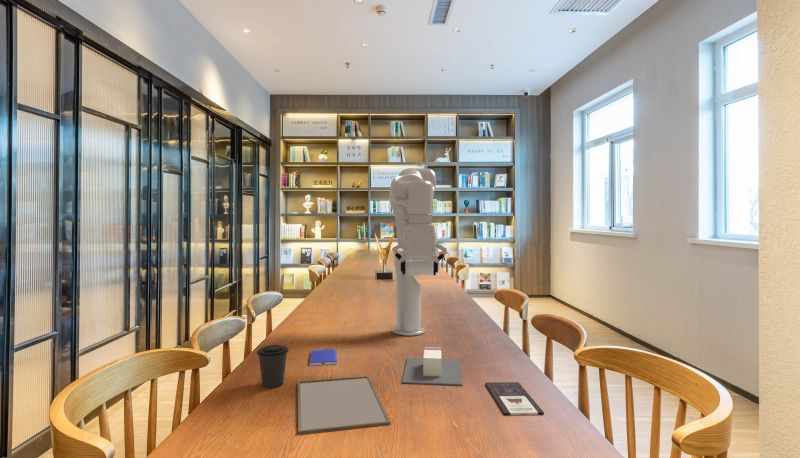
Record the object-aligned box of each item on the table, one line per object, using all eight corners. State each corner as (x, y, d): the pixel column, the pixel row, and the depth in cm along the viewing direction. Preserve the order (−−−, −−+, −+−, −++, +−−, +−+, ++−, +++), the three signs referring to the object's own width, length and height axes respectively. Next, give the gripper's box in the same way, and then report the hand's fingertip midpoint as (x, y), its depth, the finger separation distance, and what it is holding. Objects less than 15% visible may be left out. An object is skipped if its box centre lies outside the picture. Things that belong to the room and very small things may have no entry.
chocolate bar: (518, 382, 115) (543, 412, 97) (518, 385, 115) (543, 416, 97) (485, 382, 115) (504, 412, 97) (485, 386, 115) (504, 417, 97)
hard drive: (311, 349, 141) (309, 362, 129) (336, 348, 143) (337, 361, 130) (311, 354, 141) (309, 367, 129) (336, 353, 143) (337, 366, 131)
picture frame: (390, 426, 92) (368, 379, 120) (390, 421, 92) (368, 375, 120) (298, 436, 88) (297, 385, 115) (298, 431, 88) (297, 381, 115)
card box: (441, 376, 119) (441, 358, 119) (423, 376, 120) (423, 357, 120) (441, 364, 129) (441, 347, 129) (424, 363, 130) (424, 347, 130)
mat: (407, 359, 135) (407, 358, 135) (458, 360, 134) (458, 359, 134) (401, 383, 115) (401, 381, 115) (462, 385, 114) (462, 384, 114)
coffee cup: (261, 392, 109) (261, 353, 109) (253, 382, 116) (253, 345, 116) (292, 386, 113) (292, 348, 113) (283, 376, 120) (283, 340, 120)
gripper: (391, 220, 132) (390, 275, 133) (447, 221, 131) (447, 277, 132) (393, 219, 140) (393, 272, 141) (447, 220, 138) (446, 273, 139)
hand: (419, 274), depth 136 cm, fingers open, 9 cm apart
